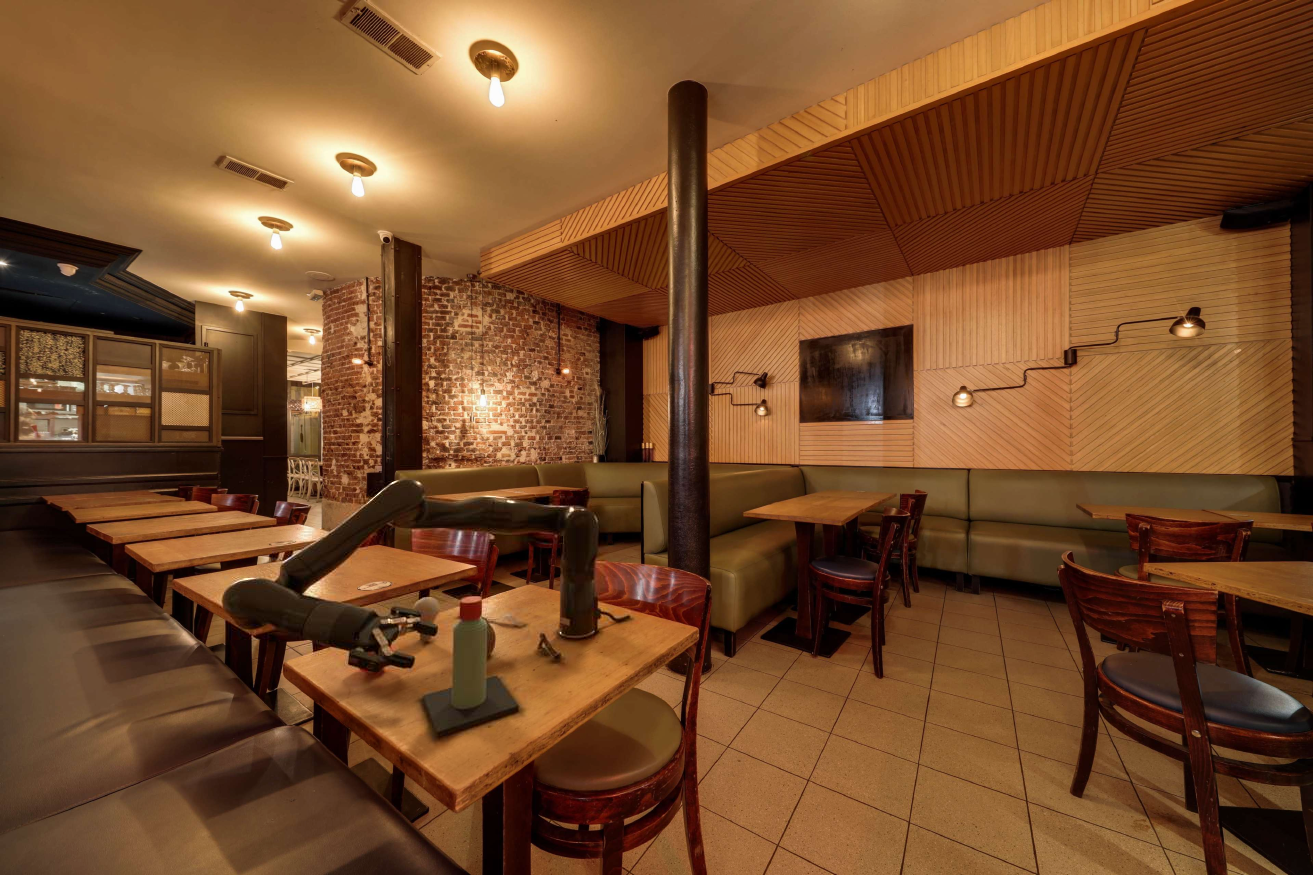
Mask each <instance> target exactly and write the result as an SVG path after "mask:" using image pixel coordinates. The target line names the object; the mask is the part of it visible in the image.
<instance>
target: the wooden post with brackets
mask: <svg viewBox="0 0 1313 875" xmlns="http://www.w3.org/2000/svg"><path fill="white" fill-rule="evenodd" d="M543 644H544V646H543ZM537 650H538V651H539V650H540V653H542V655H543V656H547V655H548V651H549V653H550V655H551V656H552V663H555V662H557V661H559V660H560V659H561V656H562V653H561V652H557V651H556V650H555V649H554V647H553V645H552V643H551V642H550V640H548V639H547V636H546V634H545V633H544V632H540V633H539V643H538V644H537Z"/></svg>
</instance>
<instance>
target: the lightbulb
mask: <svg viewBox="0 0 1313 875" xmlns="http://www.w3.org/2000/svg"><path fill="white" fill-rule="evenodd" d="M412 609H413V610H418V611H421V612H422V615H421V620H422V621H426V622H429V623H434V624H435V621H436V619H437V618H438V615H439V613H440V610H441V607H440V603H439V602H438V600H437V599H436V598H434V597H430V596H426V597H422V598H420V599H418V600H417V601H416V602H415V604H414V605H413V608H412ZM414 617H415V616H412V618H414ZM431 639H432V636H429V635H425V634H421V633H419V640H420V641H421V642H423V643H427V642H429V641H430V640H431Z"/></svg>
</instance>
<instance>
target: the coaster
mask: <svg viewBox="0 0 1313 875" xmlns="http://www.w3.org/2000/svg"><path fill="white" fill-rule="evenodd" d="M422 701H423V704H424V707H425V710H426V712H427V715H428V718H429V721H430V723H431V726H432V729H433V731H434V734H435V736H436V738H437V739H438V738H441V737H444V736H447V735H450V734H453V733H456V732H459V731H463V730H465V729H468V728H471V727H473V726H474V727H475V726H478V725H480V724H484V723H486V722H489V721H492V720H496V719H498V718H501V717H504V716H507V715H510V714H514V713H516V712H519V711H520V706H519V704H518V703H517V701H516V700H515V698H514V697H513V695H512V694H511V693H510V691H509V690H508V689H507V687H506V686H505V684H504V683H503V682H502V681H501V679H500V678H499V677H498V675H497V674H495V675H491V676H488V677H486V699H485V701H484V702H483V703H481V704H480V705H478V706H476V707H473V708H469V709H458V708H455V707H453V706H452V686H451V687H448V688H445V689H441V690H437V691H433V692H430V693H427V694H423V695H422Z"/></svg>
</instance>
